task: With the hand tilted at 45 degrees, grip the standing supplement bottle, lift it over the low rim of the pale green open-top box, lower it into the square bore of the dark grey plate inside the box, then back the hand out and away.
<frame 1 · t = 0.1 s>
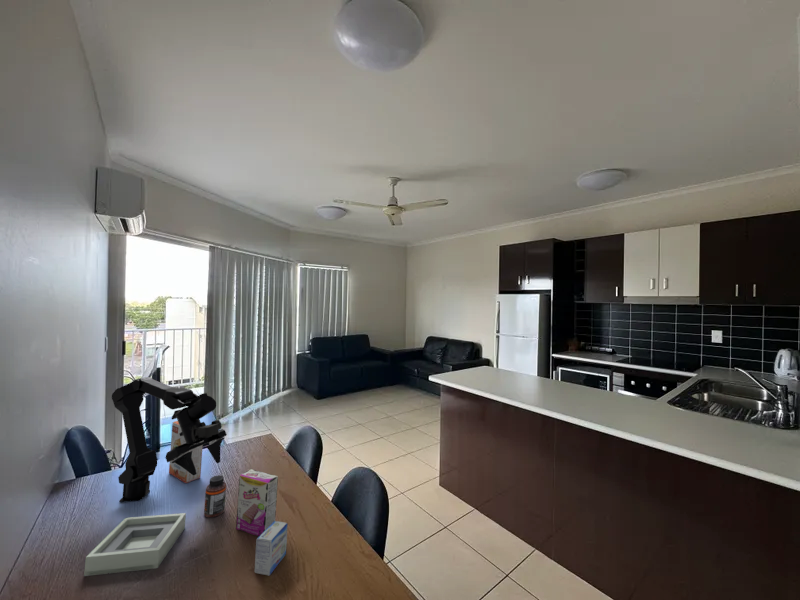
hand: (207, 468, 106), 15 cm above the table, tool tilted 35°, fingers open, 9 cm apart
candy bar box: (255, 530, 99), on the table
bore box: (139, 549, 89), on the table
supplement bottle: (214, 513, 106), on the table
medicine box: (270, 564, 86), on the table
cracker box: (184, 476, 129), on the table
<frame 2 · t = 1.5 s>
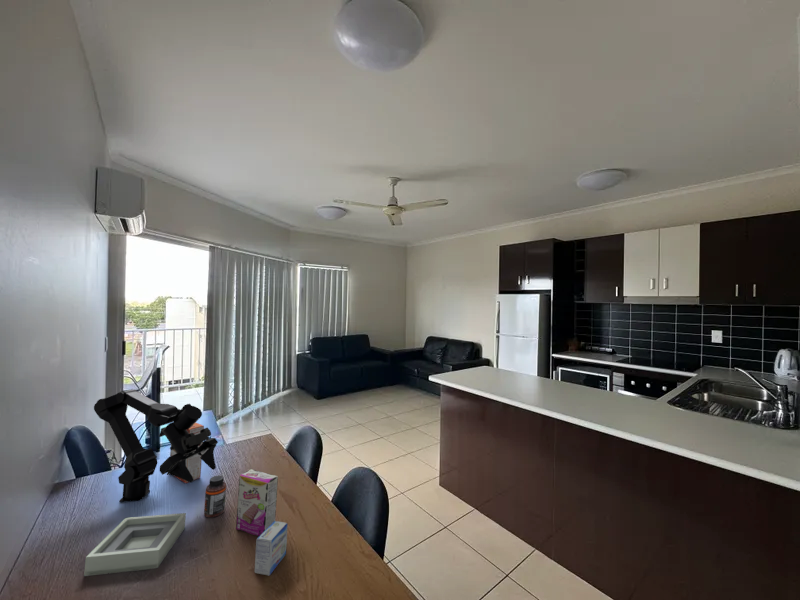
hand: (204, 475, 108), 11 cm above the table, tool tilted 45°, fingers open, 9 cm apart
nothing on the table moved.
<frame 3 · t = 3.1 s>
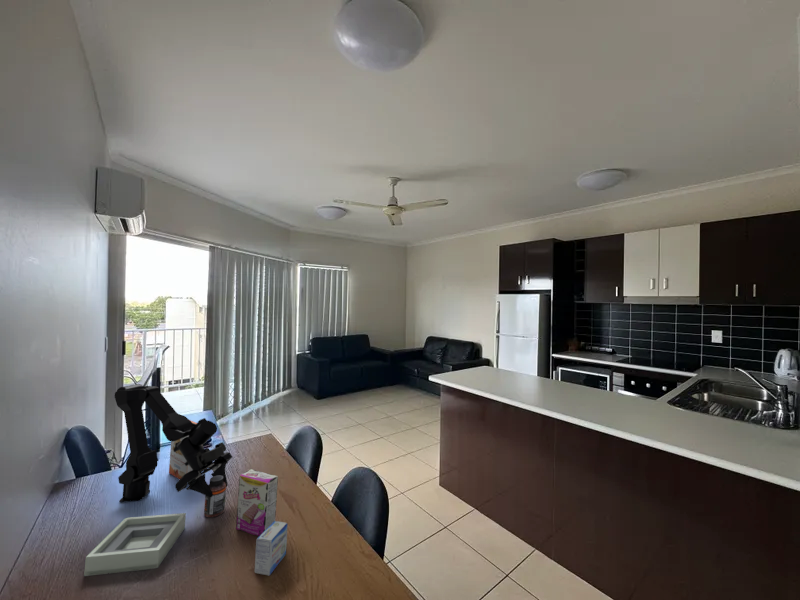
hand: (219, 491, 106), 7 cm above the table, tool tilted 45°, fingers closed on supplement bottle, 6 cm apart
supplement bottle: (214, 513, 106), on the table, touching gripper
everything else where it was.
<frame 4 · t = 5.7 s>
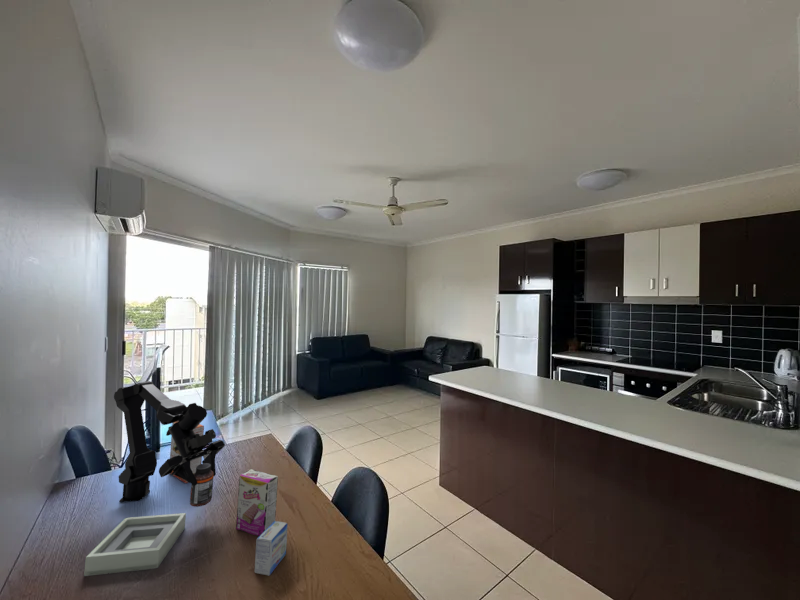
hand: (205, 480, 101), 13 cm above the table, tool tilted 45°, fingers closed on supplement bottle, 6 cm apart
supplement bottle: (200, 503, 102), point 6 cm above the table, touching gripper
everything else where it was.
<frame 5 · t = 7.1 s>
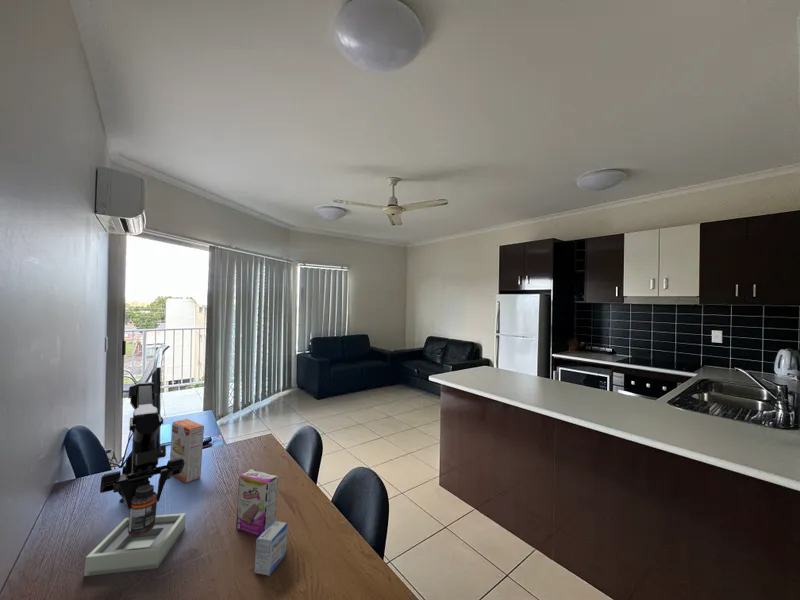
hand: (144, 505, 89), 12 cm above the table, tool tilted 45°, fingers closed on supplement bottle, 6 cm apart
supplement bottle: (141, 530, 89), point 5 cm above the table, touching gripper
everything else where it was.
when the fingers open (9 cm above the table, at t = 8.3 s): supplement bottle stays where it is, resting on bore box.
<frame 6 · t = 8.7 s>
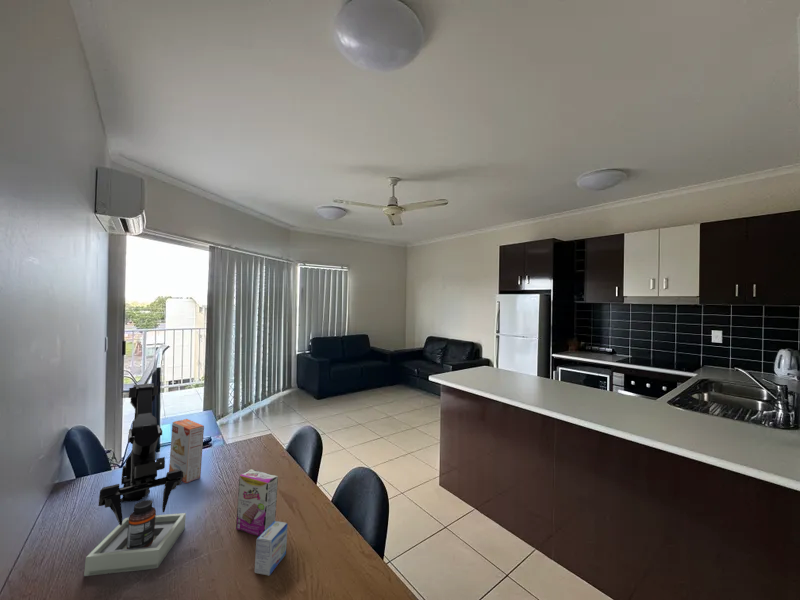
hand: (143, 518, 88), 9 cm above the table, tool tilted 45°, fingers open, 9 cm apart
supplement bottle: (140, 546, 89), point 1 cm above the table, touching bore box
everything else where it was.
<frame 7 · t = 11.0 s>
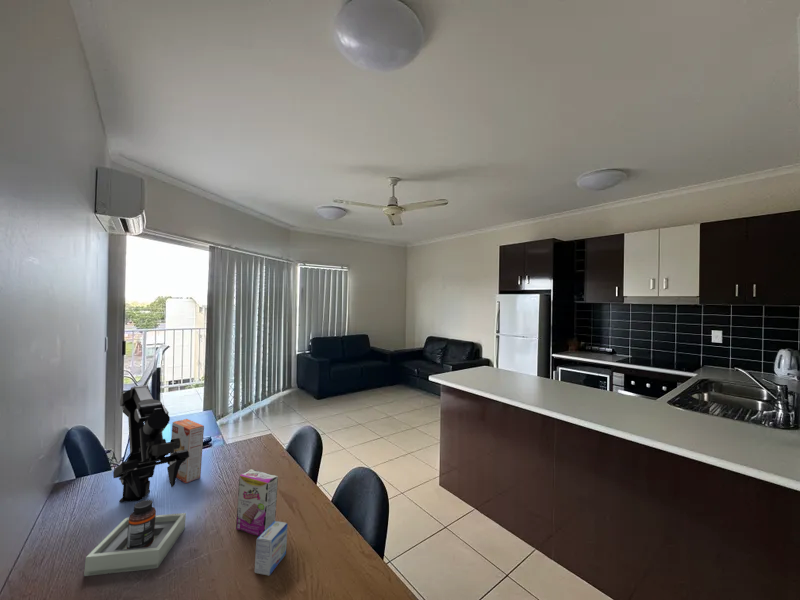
hand: (156, 491, 98), 11 cm above the table, tool tilted 35°, fingers open, 9 cm apart
nothing on the table moved.
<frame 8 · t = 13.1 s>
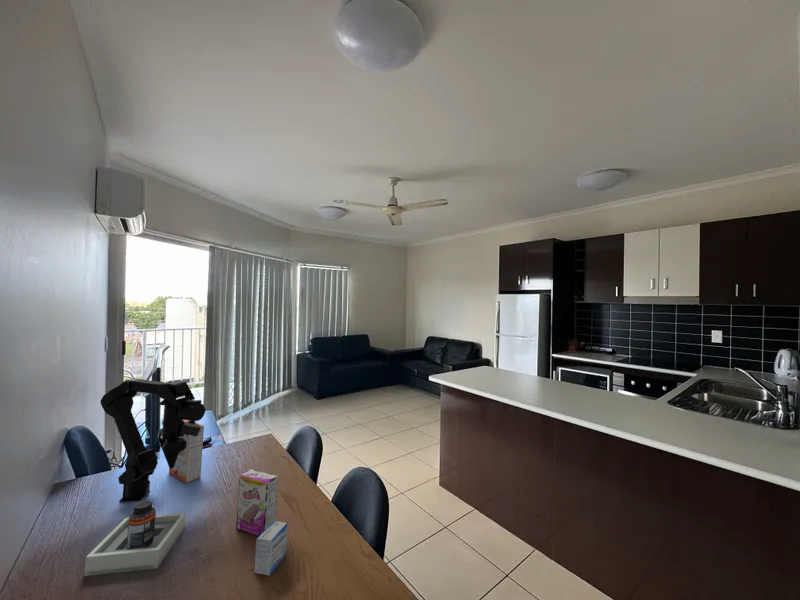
hand: (169, 463, 112), 13 cm above the table, tool pointing down, fingers open, 9 cm apart
nothing on the table moved.
at the end: supplement bottle 0.2 cm off-centre on the bore box, point 0.8 cm above the bore box's base; supplement bottle tilted 0°; the gripper is holding nothing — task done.
